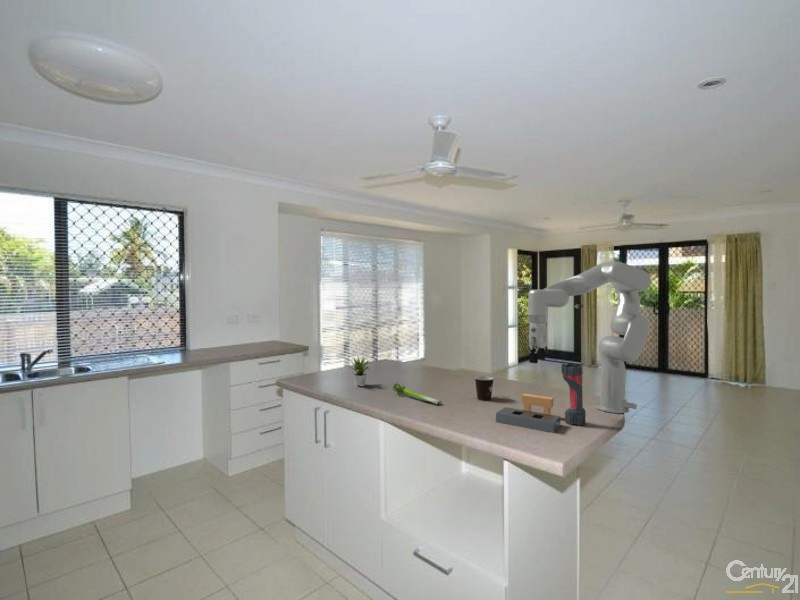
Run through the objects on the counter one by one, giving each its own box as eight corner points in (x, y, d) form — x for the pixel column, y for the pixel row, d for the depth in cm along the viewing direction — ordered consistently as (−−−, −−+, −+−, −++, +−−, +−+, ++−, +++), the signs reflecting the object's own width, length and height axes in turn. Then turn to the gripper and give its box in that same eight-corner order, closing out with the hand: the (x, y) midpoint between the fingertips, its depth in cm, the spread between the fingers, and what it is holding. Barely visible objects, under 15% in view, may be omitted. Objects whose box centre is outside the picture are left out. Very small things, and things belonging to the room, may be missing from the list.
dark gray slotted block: (560, 425, 160) (560, 416, 160) (553, 432, 152) (553, 423, 152) (505, 415, 173) (505, 407, 173) (495, 421, 165) (495, 413, 165)
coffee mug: (482, 402, 193) (482, 380, 192) (471, 397, 200) (471, 377, 200) (502, 399, 198) (502, 378, 198) (490, 394, 206) (490, 374, 205)
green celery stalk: (434, 411, 186) (388, 393, 208) (444, 410, 191) (398, 393, 212) (436, 397, 186) (390, 381, 208) (446, 396, 191) (400, 381, 212)
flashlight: (556, 421, 165) (557, 363, 164) (571, 419, 168) (572, 362, 167) (572, 427, 157) (572, 367, 157) (587, 424, 161) (588, 365, 160)
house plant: (372, 389, 218) (372, 358, 217) (346, 389, 218) (345, 358, 217) (374, 383, 232) (374, 353, 232) (349, 383, 232) (349, 354, 232)
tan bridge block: (553, 417, 170) (553, 397, 170) (551, 419, 168) (551, 399, 167) (524, 412, 177) (524, 393, 177) (521, 414, 174) (521, 395, 174)
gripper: (540, 321, 162) (539, 365, 162) (553, 318, 176) (552, 359, 177) (521, 320, 166) (521, 363, 167) (535, 318, 180) (534, 357, 181)
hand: (537, 361), depth 172 cm, fingers open, 9 cm apart
